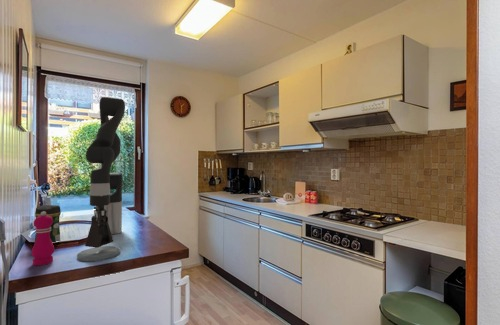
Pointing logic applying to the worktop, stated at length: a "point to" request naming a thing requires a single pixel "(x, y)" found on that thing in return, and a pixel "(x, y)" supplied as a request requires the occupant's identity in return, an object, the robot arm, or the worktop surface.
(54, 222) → the coffee jar
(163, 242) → the worktop surface
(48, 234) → the pepper mill
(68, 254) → the worktop surface
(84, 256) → the dish
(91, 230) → the door stopper
